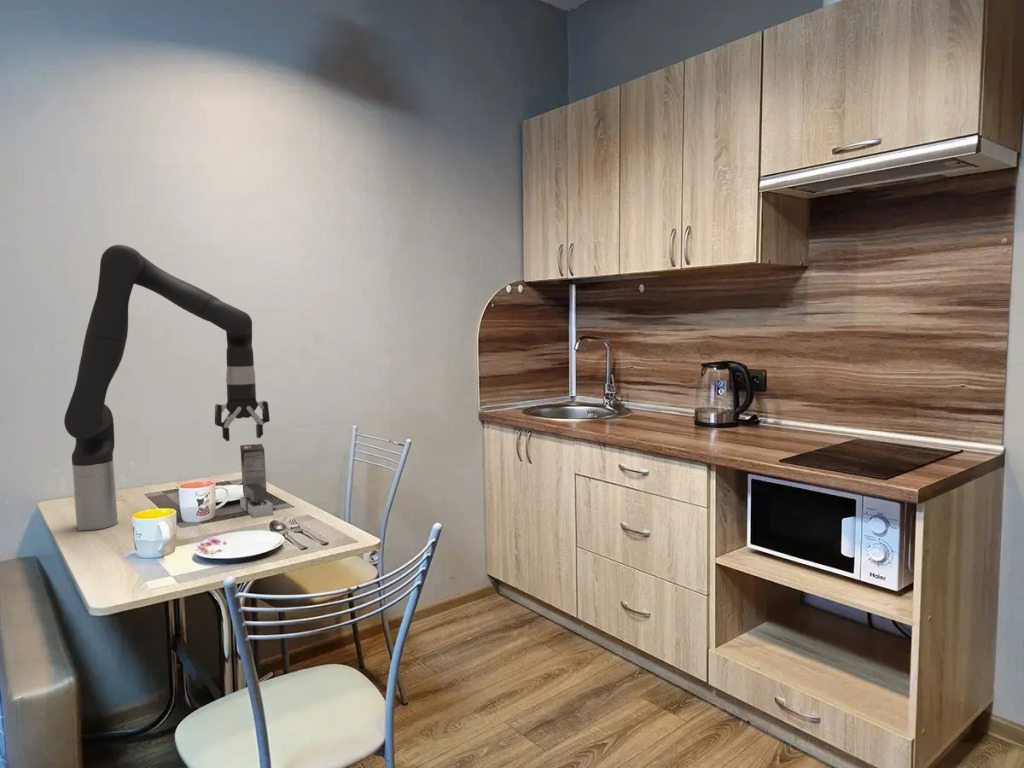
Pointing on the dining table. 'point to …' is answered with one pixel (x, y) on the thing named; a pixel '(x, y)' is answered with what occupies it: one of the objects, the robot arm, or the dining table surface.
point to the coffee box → (253, 465)
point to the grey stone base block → (256, 507)
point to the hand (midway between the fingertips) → (243, 439)
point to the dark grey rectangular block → (255, 492)
